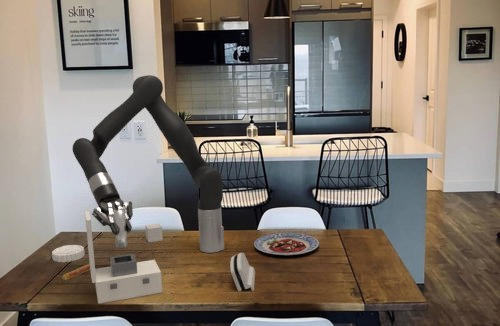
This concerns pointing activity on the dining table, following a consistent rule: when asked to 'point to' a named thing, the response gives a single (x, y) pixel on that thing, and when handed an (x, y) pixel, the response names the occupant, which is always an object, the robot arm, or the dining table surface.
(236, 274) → the white rounded block
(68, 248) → the mooncake
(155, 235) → the grey cube
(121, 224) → the rod
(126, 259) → the socket
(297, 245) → the ceramic plate
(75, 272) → the chocolate bar
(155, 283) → the white fixture base
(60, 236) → the dining table surface
